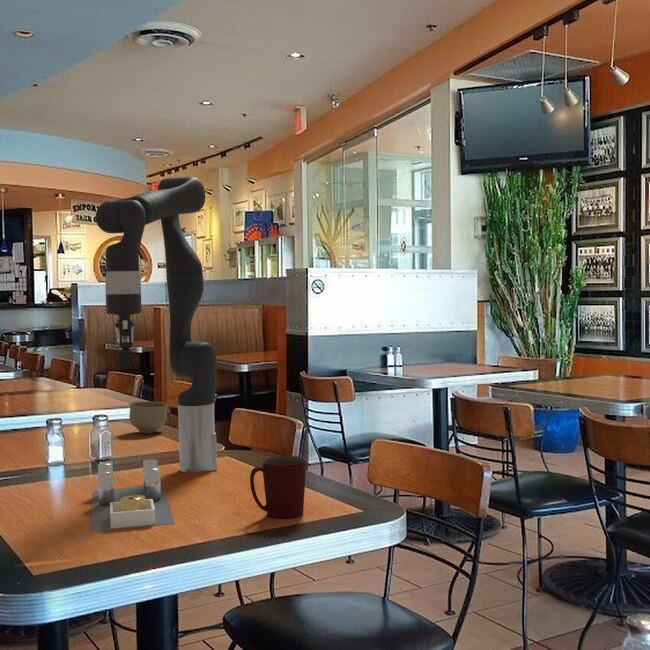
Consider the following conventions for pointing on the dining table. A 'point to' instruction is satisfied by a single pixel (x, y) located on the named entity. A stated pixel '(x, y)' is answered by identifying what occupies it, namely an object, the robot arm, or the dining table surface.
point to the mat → (102, 513)
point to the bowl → (148, 415)
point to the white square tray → (132, 515)
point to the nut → (132, 503)
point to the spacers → (150, 482)
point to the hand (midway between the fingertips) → (125, 366)
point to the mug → (282, 486)
